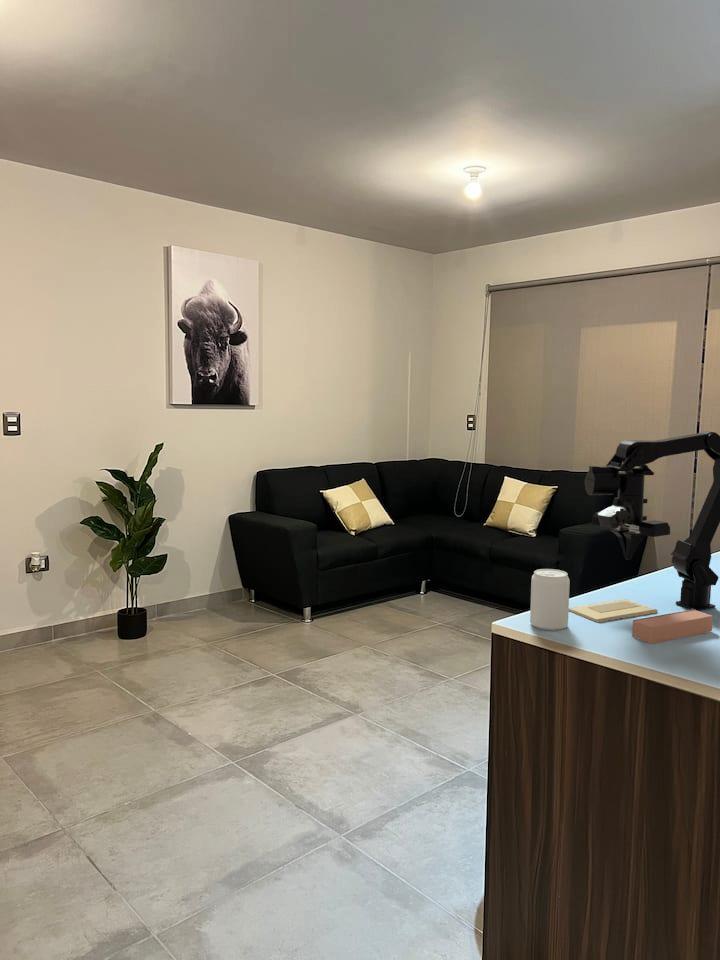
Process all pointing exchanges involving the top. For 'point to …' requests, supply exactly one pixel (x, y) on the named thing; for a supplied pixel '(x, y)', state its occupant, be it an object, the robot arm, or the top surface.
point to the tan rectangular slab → (612, 610)
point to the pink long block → (672, 626)
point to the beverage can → (549, 599)
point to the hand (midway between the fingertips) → (628, 559)
